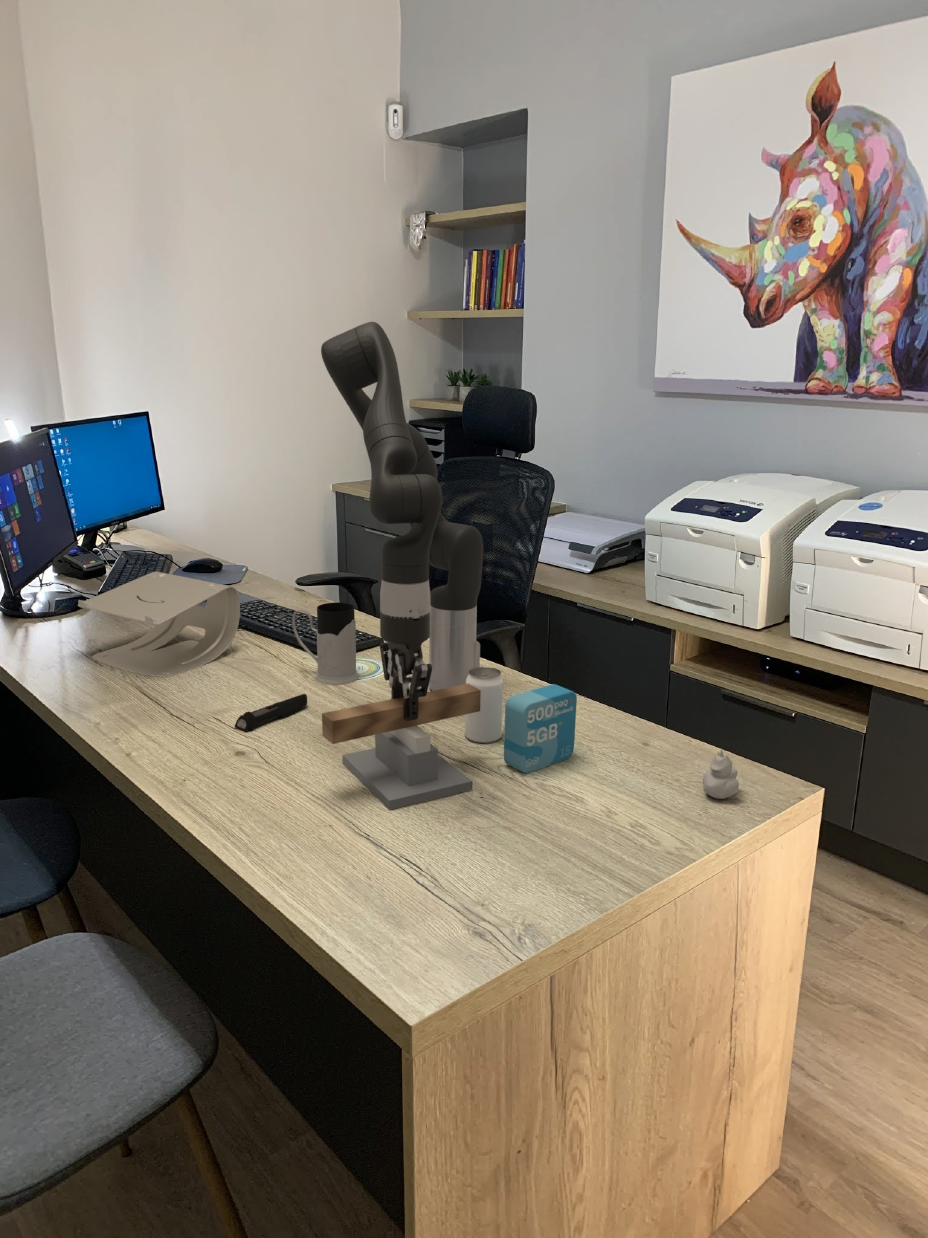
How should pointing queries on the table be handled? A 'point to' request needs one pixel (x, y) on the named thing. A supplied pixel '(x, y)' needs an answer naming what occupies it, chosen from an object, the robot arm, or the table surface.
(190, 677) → the table surface
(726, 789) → the rubber duck
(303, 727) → the table surface
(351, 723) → the walnut bar
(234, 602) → the portable electronic device stand
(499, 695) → the can
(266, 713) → the electric trimmer
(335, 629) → the grey black mug
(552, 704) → the data package
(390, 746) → the stand
